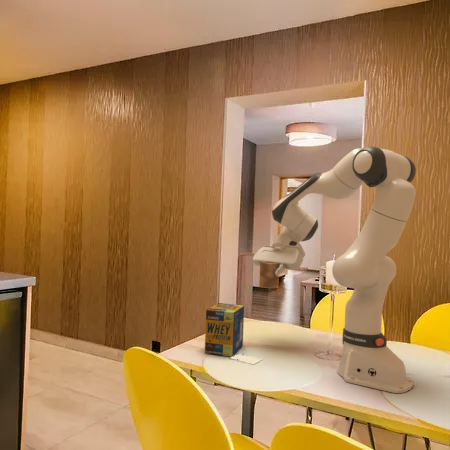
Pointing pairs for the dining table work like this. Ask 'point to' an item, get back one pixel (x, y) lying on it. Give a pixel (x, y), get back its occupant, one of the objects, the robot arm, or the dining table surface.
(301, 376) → the dining table surface
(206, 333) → the protein box
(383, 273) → the robot arm
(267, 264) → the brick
